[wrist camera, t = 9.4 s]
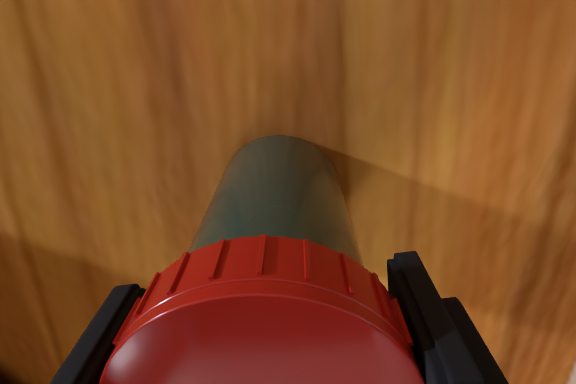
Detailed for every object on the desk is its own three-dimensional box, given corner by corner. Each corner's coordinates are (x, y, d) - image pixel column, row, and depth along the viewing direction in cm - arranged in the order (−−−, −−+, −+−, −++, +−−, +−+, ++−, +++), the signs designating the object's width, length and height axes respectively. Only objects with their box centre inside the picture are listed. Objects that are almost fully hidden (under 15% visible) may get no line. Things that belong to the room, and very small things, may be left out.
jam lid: (107, 398, 10) (69, 476, 8) (171, 187, 8) (135, 238, 6) (334, 459, 11) (342, 540, 9) (461, 291, 9) (504, 361, 7)
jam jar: (319, 117, 16) (357, 259, 7) (353, 224, 19) (417, 446, 9) (202, 157, 17) (86, 333, 8) (247, 254, 19) (202, 487, 10)
